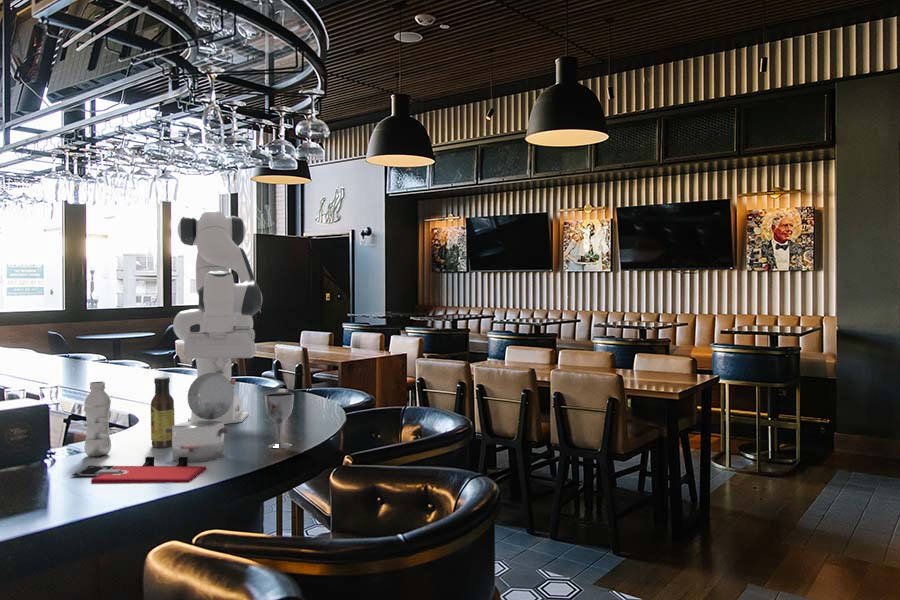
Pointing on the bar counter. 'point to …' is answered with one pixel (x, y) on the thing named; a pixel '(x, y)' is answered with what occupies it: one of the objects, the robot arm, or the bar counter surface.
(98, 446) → the plastic bottle
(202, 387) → the lid
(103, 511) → the bar counter surface
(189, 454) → the pot
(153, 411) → the sauce bottle
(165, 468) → the red board with handle
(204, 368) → the robot arm
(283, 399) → the wine glass
